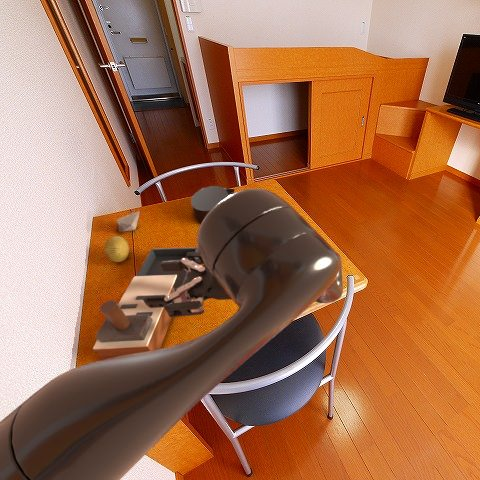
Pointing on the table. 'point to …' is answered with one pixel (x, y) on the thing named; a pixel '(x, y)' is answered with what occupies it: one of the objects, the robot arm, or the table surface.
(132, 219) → the paper boat
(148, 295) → the marker stroke
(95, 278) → the table surface
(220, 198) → the dark grey round pot
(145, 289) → the beige flat block
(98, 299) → the table surface
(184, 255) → the bin
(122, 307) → the bar
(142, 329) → the stamp with brown handle
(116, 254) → the sculpture
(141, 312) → the strip
